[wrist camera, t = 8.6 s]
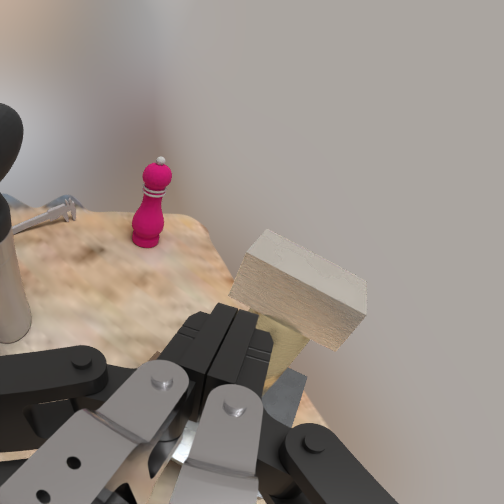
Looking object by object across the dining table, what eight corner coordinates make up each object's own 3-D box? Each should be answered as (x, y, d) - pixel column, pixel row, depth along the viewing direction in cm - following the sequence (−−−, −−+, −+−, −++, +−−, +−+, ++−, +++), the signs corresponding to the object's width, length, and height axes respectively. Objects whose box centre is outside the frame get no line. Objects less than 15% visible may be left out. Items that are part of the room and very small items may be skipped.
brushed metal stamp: (258, 499, 20) (423, 436, 9) (119, 426, 22) (106, 275, 11) (302, 382, 35) (399, 263, 24) (198, 327, 37) (251, 184, 26)
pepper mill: (124, 242, 57) (137, 156, 47) (138, 227, 64) (153, 148, 53) (153, 253, 58) (171, 166, 48) (164, 237, 64) (184, 158, 54)
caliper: (74, 219, 57) (75, 196, 54) (75, 221, 57) (76, 198, 54) (0, 237, 42) (-4, 212, 39) (0, 239, 42) (-4, 215, 38)
